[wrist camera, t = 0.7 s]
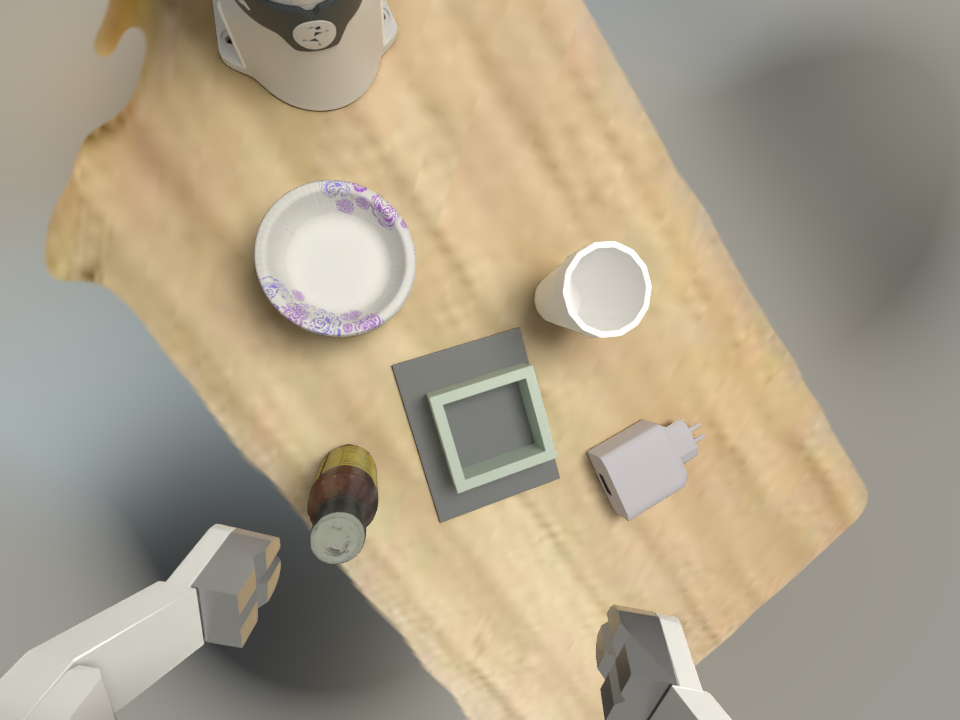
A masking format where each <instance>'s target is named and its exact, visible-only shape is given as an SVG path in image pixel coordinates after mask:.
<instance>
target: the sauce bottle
mask: <svg viewBox="0 0 960 720" xmlns="http://www.w3.org/2000/svg"><path fill="white" fill-rule="evenodd" d="M377 507H378V487H377V471H376V464H375V462H374V460H373V458H372V457H371V455H370V454H369V452H367V451H366V450H365V449H363V448H360V447H358V446H354V445H348V444H347V445H344V446H340V447H338V448H336V449H334V450H333V451H331V452H330V453H329V454H328V455H327V456H326V457H325V459H324V460H323V462H322V464H321V466H320V468H319V471H318V473H317V476H316V478H315V481H314V483H313V486H312V489H311V492H310V497H309V500H308V515H309V516H310V520H311V522H312V524H313V527H312V529H311V533H310V546H311V550H312V552H313V553H314V555H315V556H317V558H318V559H320V560H322V561H323V562H325V563H328V564H339V563H344V562H347V561H349V560H351V559H352V558H354V557H356V555H357V554H358V553H359V552H360V551H361V549H362V547H363V545H364V542H365V537H366V527H367V526H368V525H369V524H370V523H371V522H372V520H373V518H374V516H375V514H376V511H377Z"/></svg>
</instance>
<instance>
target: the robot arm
mask: <svg viewBox="0 0 960 720" xmlns="http://www.w3.org/2000/svg"><path fill="white" fill-rule="evenodd" d="M212 1H213V9H214V17H215V25H216V33H217V41H218V49H219V53H220V56H221V58H222V60H223V62H224V63H225V64H226V65H227V66H229V67H231V68H232V69H235V70H237V71H239V72H242V73H244V74H247V75H249V76H251V77H253V78H254V79H256V80H257V81H258V82H259V83H260V84H262V85H263V86H264V87H265V88H266V89H267V90H268V91H269V92H271V93H272V94H273V95H275V96H276V97H278V98H279V99H281V100H283V101H284V102H286V103H288V104H291V105H293V106H296V107H299V108H303V109H307V110H315V111H325V110H333V109H338V108H341V107H344V106H346V105H348V104H350V103H352V102H354V101H355V100H357V99H358V98H359V97H360V96H362V95H363V94H364V93H365V92H366V90H367V89H368V88H369V87H370V85H371V84H372V82H373V80H374V78H375V76H376V74H377V71H378V67H379V64H380V61H381V58H382V56H383V54H384V53H385V52H386V51H387V50H388V49H389V48H390V47H391V46H392V44H393V43H394V42H395V40H396V39H397V36H398V29H397V24H396V21H395V19H394V17H393V15H392V13H391V11H390V9H389V6H388V4H387V2H386V0H212ZM384 18H385V20H384ZM229 40H232V44H228V43H227V42H228V41H229ZM279 549H280V538H278V537H274V536H269V535H265V534H261V533H257V532H252V531H247V530H243V529H239V528H235V527H230V526H225V525H221V524H215V525H214V526H212V527H211V528H210V529H208V531H207V532H206V533H205V534H204V536H203V537H202V538H201V539H200V540H199V542H198V543H197V544H196V545H195V546H194V548H193V549H192V550H191V551H190V553H189V554H188V555H187V556H186V558H185V559H184V560H183V561H182V562H181V564H180V565H179V566H178V567H177V569H176V570H175V571H174V572H173V574H172V575H171V576H170V577H169V578H168V580H167V581H166V582H162V581H158V582H156V583H154V584H153V585H151V586H149V587H147V588H145V589H143V590H141V591H139V592H137V593H136V594H134V595H132V596H130V597H128V598H127V599H124V600H123V601H121V602H119V603H117V604H115V605H113V606H111V607H110V608H108V609H106V610H104V611H102V612H100V613H98V614H97V615H95V616H93V617H91V618H89V619H87V620H85V621H83V622H81V623H80V624H78V625H76V626H74V627H72V628H70V629H68V630H67V631H65V632H63V633H61V634H59V635H57V636H55V637H54V638H52V639H50V640H48V641H46V642H44V643H42V644H40V645H39V646H37V647H35V648H33V649H31V650H29V651H27V652H26V653H25V654H24V655H23V656H22V657H21V658H20V659H19V660H18V661H17V662H16V664H15V665H14V666H13V667H12V668H11V669H10V670H9V671H8V672H7V673H6V674H5V675H4V676H3V677H2V678H1V679H0V720H117V719H116V716H115V713H116V712H117V711H119V710H120V709H121V708H122V707H124V706H125V705H126V704H128V703H129V702H130V701H131V700H133V699H134V698H135V697H137V696H138V695H139V694H141V693H142V692H143V691H144V690H146V689H147V688H148V687H150V686H151V685H152V684H153V683H155V682H156V681H157V680H159V679H160V678H161V677H162V676H164V675H165V674H166V673H168V672H169V671H170V670H171V669H173V668H174V667H175V666H176V665H178V664H179V663H180V662H182V661H183V660H184V659H185V658H187V657H188V656H189V655H191V654H192V653H193V652H194V651H196V650H197V649H198V648H200V647H201V646H202V645H203V644H204V642H210V643H216V644H222V645H228V646H234V647H240V648H242V647H243V645H244V643H245V642H246V640H247V638H248V636H249V635H250V633H251V631H252V629H253V627H254V626H255V624H256V622H257V620H258V611H257V608H259V607H260V606H262V605H263V604H265V603H266V602H268V601H269V599H270V597H271V595H272V593H273V591H274V589H275V586H276V584H277V581H278V578H279V574H280V568H281V560H280V559H279V558H278V557H277V555H276V554H277V552H278V550H279ZM607 616H608V622H607V623H605V624H603V625H601V628H600V630H599V633H598V636H597V643H596V660H597V668H598V670H599V671H600V673H601V674H602V676H603V677H604V679H605V681H604V683H603V685H602V687H601V689H600V690H601V697H602V704H603V711H604V718H605V720H732V719H731V718H730V717H729V716H728V714H727V713H726V712H725V711H724V710H723V708H722V707H721V706H720V705H719V704H718V703H717V701H716V700H715V699H714V698H713V697H712V695H711V694H710V693H709V692H705V691H703V690H702V687H701V685H700V681H699V678H698V675H697V672H696V669H695V666H694V663H693V660H692V657H691V654H690V651H689V648H688V645H687V642H686V639H685V636H684V633H683V630H682V627H681V624H680V621H679V620H678V619H677V617H674V616H669V615H664V614H658V613H654V612H651V611H646V610H640V609H635V608H630V607H624V606H619V605H613V606H611V607H610V609H609V611H608V613H607Z"/></svg>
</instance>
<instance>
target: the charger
mask: <svg viewBox="0 0 960 720" xmlns="http://www.w3.org/2000/svg"><path fill="white" fill-rule="evenodd" d="M698 427H700V424H699V423H697V424H695V425H693V426H692V427H690V428H688V427H687V425H686V424H685V422H684V421H683V420H682V419H679V420H677V421H676V422H674V423H672V424H670V425H669V426H667V427H664V426H661V425H659V424H656V423H653V422H650V421H647V420H644V419H643V420H641V421H639V422H637V423H636V424H634V425H632V426H630V427H629V428H627V429H625V430H624V431H622V432H620V433H618V434H617V435H615V436H613V437H611V438H610V439H608V440H606V441H604V442H603V443H601V444H599V445H597V446H596V447H594V448H592V449H590V450H589V451H587V453H588V456H589V458H590V460H591V462H592V465H593V467H594V469H595V471H596V473H597V476H598V478H599V480H600V482H601V484H602V486H603V489H604V491H605V493H606V495H607V497H608V500H609V502H610V504H611V506H612V508H613V509H614V510H615V511H616V512H617V513H618V514H620V515H621V516H622V517H624V518H625V519H626V520H627V521H629V520H631V519H633V518H634V517H636V516H637V515H639V514H641V513H642V512H644V511H646V510H647V509H649V508H650V507H652V506H654V505H655V504H657V503H659V502H660V501H662V500H663V499H665V498H667V497H668V496H670V495H672V494H673V493H675V492H676V491H678V490H680V489H681V488H683V487H685V484H686V480H687V472H686V470H685V467H684V465H683V464H684V463H686V462H687V461H689V460H690V459H692V458H694V457H695V456H697V445H696V442H698V441H700V440H701V439H703V438H705V435H704V434H702V435H700V436H698V437H697V438H695V439H694V438H693V436H692V433H691V431H693V430H695V429H696V428H698ZM599 474H601V476H602V478H603V480H604V482H605V485H606V487H607V489H608V491H609V493H610V494H611V495H612V496H611V495H610V494H609V493H607V491H606V489H605V486H604V484H603V482H602V480H601V478H600V475H599Z"/></svg>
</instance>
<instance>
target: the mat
mask: <svg viewBox="0 0 960 720" xmlns="http://www.w3.org/2000/svg"><path fill="white" fill-rule="evenodd" d="M520 363H525V364H529V362H528V358H527V355H526V351H525V347H524V344H523V340H522V336H521V333H520V329H519V328H515V329H512V330H508V331H505V332H502V333H498V334H495V335H492V336H488V337H485V338H482V339H478V340H475V341H472V342H468V343H465V344H462V345H458V346H455V347H452V348H448V349H445V350H441V351H438V352H435V353H431V354H428V355H425V356H421V357H418V358H415V359H411V360H408V361H405V362H401V363H398V364H395V365H392V367H393V370H394V373H395V376H396V380H397V383H398V386H399V389H400V393H401V396H402V399H403V402H404V406H405V409H406V412H407V415H408V419H409V422H410V425H411V428H412V432H413V435H414V438H415V441H416V445H417V448H418V451H419V454H420V458H421V461H422V464H423V467H424V471H425V474H426V477H427V480H428V484H429V487H430V490H431V493H432V497H433V500H434V503H435V506H436V510H437V513H438V516H439V519H440V523H441V522H444V521H446V520H449V519H452V518H455V517H457V516H460V515H463V514H465V513H468V512H471V511H473V510H476V509H479V508H481V507H484V506H487V505H489V504H492V503H495V502H497V501H500V500H503V499H505V498H508V497H511V496H513V495H516V494H519V493H521V492H524V491H527V490H530V489H532V488H535V487H538V486H540V485H543V484H546V483H548V482H551V481H554V480H556V479H559V478H560V477H559V473H558V469H557V465H556V462H555V458H554V459H552V460H549V461H546V462H543V463H541V464H538V465H535V466H532V467H530V468H527V469H524V470H521V471H519V472H516V473H513V474H510V475H508V476H505V477H502V478H499V479H497V480H494V481H491V482H488V483H486V484H483V485H480V486H477V487H475V488H472V489H469V490H466V491H464V492H461V493H458V492H457V490H456V488H455V486H454V484H453V482H452V478H451V475H450V472H449V469H448V465H447V462H446V459H445V455H444V452H443V449H442V445H441V442H440V439H439V435H438V432H437V429H436V425H435V422H434V419H433V415H432V412H431V409H430V405H429V402H428V399H427V395H426V393H428V392H431V391H435V390H438V389H441V388H444V387H447V386H450V385H454V384H457V383H460V382H463V381H466V380H469V379H473V378H476V377H479V376H482V375H485V374H488V373H492V372H495V371H498V370H501V369H504V368H507V367H511V366H514V365H517V364H520ZM443 407H444V410H445V414H446V417H447V421H448V424H449V427H450V431H451V434H452V437H453V441H454V444H455V447H456V451H457V454H458V458H459V461H460V464H461V468H462V469H463V468H465V467H468V466H471V465H474V464H477V463H480V462H482V461H485V460H488V459H491V458H494V457H497V456H499V455H502V454H505V453H508V452H511V451H514V450H516V449H519V448H522V447H525V446H528V445H530V444H533V443H534V439H533V436H532V432H531V428H530V425H529V421H528V417H527V414H526V410H525V407H524V403H523V399H522V396H521V392H520V388H519V385H518V381H515V382H512V383H509V384H506V385H503V386H500V387H497V388H494V389H491V390H488V391H484V392H481V393H478V394H475V395H472V396H469V397H466V398H463V399H460V400H457V401H453V402H450V403H447V404H444V405H443Z"/></svg>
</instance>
